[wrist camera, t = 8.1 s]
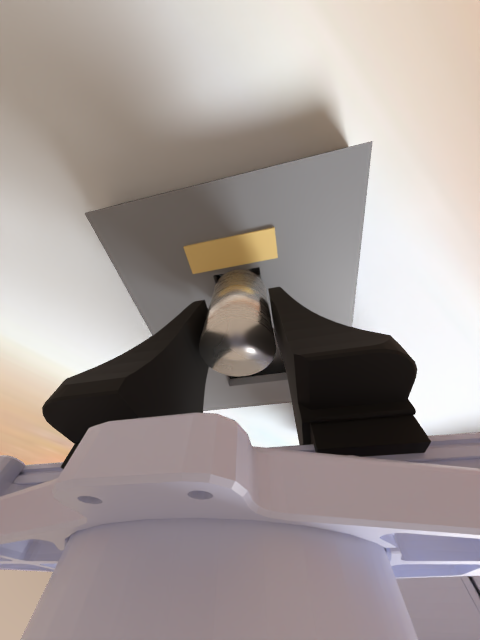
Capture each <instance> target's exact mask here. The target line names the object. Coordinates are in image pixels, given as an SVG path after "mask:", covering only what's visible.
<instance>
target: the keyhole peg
mask: <svg viewBox="0 0 480 640" xmlns="http://www.w3.org/2000/svg"><path fill="white" fill-rule="evenodd" d="M216 277H217V283H216V285H215V288H214V292H213V295H212V299H211V302H210V306H209V310H208V313H207V317H206V320H205V324H204V328H203V331H202V335H201V338H200V342H199V352H200V355H201V357H202V359H203V360H204V362H205V363H206V364H207V365H208V366H209V367H210V368H212V369H213V370H215V371H217V372H219V373H221V374H225V375H229V376H248V375H252V374H255V373H258V372H260V371H262V370H263V369H265V368H266V367H267V366H268V365H269V364H270V363H271V362H272V360H273V358H274V356H275V353H276V345H275V339H274V333H273V327H272V321H271V315H270V309H269V303H268V297H267V291H266V287H265V284H264V282H263V281H262V279H261V275H260V269H259V267H257V268H251V269H246V270H243V269H237V270H232V271H229V272H227V273H225V274H219V275H216Z"/></svg>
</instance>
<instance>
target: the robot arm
mask: <svg viewBox="0 0 480 640" xmlns="http://www.w3.org/2000/svg"><path fill="white" fill-rule="evenodd" d="M268 290H269V297H270V304H271V311H272V318H273V324H274V330H275V336H276V339H277V342H278V346H279V349H280V353H281V356H282V359H283V363H284V366H285V370H286V374H287V379H288V384H289V389H290V395H291V400H292V405H293V411H294V416H295V422H296V427H297V433H298V438H299V444H300V445H297V446H283V447H270V448H264V447H253V446H252V445H251V442H250V440H249V437H248V434H247V433H246V432H245V431H244V430H243V429H242V427H241V426H240V425H239V424H238V423H237V422H236V421H235V420H232V419H229V418H227V417H224V416H222V415H219V414H213V413H203V405H204V394H205V384H206V378H207V374H208V369H209V366H208V365H207V364H206V363H205V362H204V360H203V359H202V357H201V355H200V352H199V342H200V338H201V335H202V331H203V328H204V324H205V320H206V317H207V313H208V308H207V305H206V302H205V300H200V301H194V302H193V303H191V304H190V305H189V306H188V307H186V308H185V309H184V310H183V311H182V312H181V313H180V314H179V315H177V316H176V317H175V318H174V319H173V320H172V321H171V322H169V323H168V324H167V325H166V326H164V327H163V328H162V329H161V330H160V331H158V332H157V333H156V334H154V335H153V336H151V337H150V338H148V339H147V340H145V341H144V342H142V343H141V344H139V345H138V346H136V347H134V348H132V349H131V350H129V351H127V352H125V353H124V354H122V355H120V356H118V357H116V358H114V359H112V360H110V361H108V362H106V363H104V364H101V365H99V366H97V367H95V368H92V369H90V370H87V371H85V372H82V373H80V374H77V375H75V376H72V377H70V378H67V379H66V380H65V381H64V382H63V383H62V384H61V385H60V386H59V387H58V389H57V390H56V391H55V392H54V393H53V394H52V395H51V397H50V398H49V399H48V400H47V401H46V402H45V404H44V406H43V407H42V410H43V416H44V417H45V419H46V421H47V422H48V423H49V424H50V425H51V426H52V427H54V428H55V429H56V430H58V431H59V432H60V433H61V434H63V435H64V436H65V437H67V438H68V439H69V440H70V441H72V442H73V443H74V444H75V445H74V446H73V448H72V449H71V451H70V453H69V454H68V456H67V457H66V459H65V461H64V462H62V463H48V464H34V465H25V464H24V463H23V462H22V461H20V460H18V459H17V458H14V457H11V456H6V455H1V456H0V569H3V570H26V571H47V572H53V573H52V576H51V578H50V580H49V582H48V584H47V586H46V588H45V590H44V592H43V594H42V596H41V598H40V600H39V602H38V605H37V607H36V609H35V611H34V613H33V615H32V617H31V619H30V621H29V623H28V625H27V627H26V629H25V631H24V633H23V635H22V638H21V640H480V432H477V433H463V434H449V435H435V436H427V435H426V433H425V432H424V430H423V429H422V427H421V426H420V424H419V423H418V422H417V420H416V419H415V417H414V416H413V415H415V412H416V411H415V408H414V407H413V405H412V404H411V403H410V401H409V400H408V397H409V394H410V392H411V389H412V386H413V384H414V381H415V378H416V374H417V367H416V364H415V361H414V360H413V359H412V358H411V357H410V356H409V355H408V354H407V352H406V351H405V350H404V349H403V348H402V347H401V345H400V344H399V343H398V342H396V341H395V340H394V339H393V338H392V337H391V336H390V335H386V334H381V333H375V332H370V331H365V330H361V329H357V328H353V327H350V326H346V325H343V324H340V323H337V322H334V321H332V320H329V319H327V318H324V317H322V316H320V315H318V314H316V313H314V312H312V311H310V310H309V309H307V308H306V307H304V306H302V305H301V304H300V303H298V302H297V301H296V300H295V299H293V298H292V297H291V296H290V295H289V294H288V293H286V292H285V291H284V290H283V289H282V288H281V287H275V288H269V289H268Z"/></svg>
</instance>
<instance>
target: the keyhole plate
mask: <svg viewBox="0 0 480 640" xmlns="http://www.w3.org/2000/svg"><path fill="white" fill-rule="evenodd" d="M371 150H372V141H371V142H367V143H363V144H359V145H355V146H351V147H347V148H343V149H339V150H335V151H331V152H327V153H323V154H319V155H315V156H311V157H307V158H303V159H299V160H295V161H291V162H287V163H283V164H279V165H275V166H271V167H267V168H263V169H259V170H255V171H251V172H247V173H243V174H239V175H235V176H231V177H227V178H223V179H219V180H215V181H211V182H207V183H203V184H199V185H195V186H191V187H187V188H183V189H179V190H175V191H171V192H167V193H163V194H159V195H155V196H151V197H147V198H143V199H139V200H135V201H131V202H127V203H123V204H119V205H115V206H111V207H107V208H103V209H99V210H95V211H91V212H87V213H85V215H86V217H87V218H88V220H89V222H90V224H91V226H92V227H93V229H94V231H95V233H96V234H97V236H98V238H99V240H100V242H101V243H102V245H103V247H104V249H105V251H106V252H107V254H108V256H109V258H110V260H111V261H112V263H113V265H114V267H115V269H116V270H117V272H118V274H119V276H120V278H121V279H122V281H123V283H124V285H125V286H126V288H127V290H128V292H129V294H130V295H131V297H132V299H133V301H134V303H135V304H136V306H137V308H138V310H139V312H140V313H141V315H142V317H143V319H144V321H145V322H146V324H147V326H148V328H149V330H150V331H151V333H152V335H154V334H156V333H157V332H158V331H160V330H161V329H162V328H163V327H164V326H166V325H167V324H168V323H169V322H171V321H172V320H173V319H174V318H175V317H176V316H177V315H179V314H180V313H181V312H182V311H183V310H184V309H185V308H186V307H188V306H189V305H190V304H191V303H193V302H194V301H200V300H205V302H206V305H207V308H208V310H209V306H210V302H211V299H212V295H213V292H214V288H215V285H216V283H217V277H216V275H219V274H225V273H227V272H229V271H232V270H237V269H243V270H246V269H251V268H257V267H259V269H260V275H261V279H262V281H263V282H264V284H265V287H266V291H267V297H268V303H269V309H270V315H271V321H272V327H273V328H274V324H273V318H272V311H271V304H270V297H269V290H268V289H269V288H275V287H281V288H282V289H283V290H284V291H285V292H286V293H288V294H289V295H290V296H291V297H292V298H293V299H295V300H296V301H297V302H298V303H300V304H301V305H302V306H304V307H306V308H307V309H309V310H310V311H312V312H314V313H316V314H318V315H320V316H322V317H324V318H327V319H329V320H332V321H334V322H337V323H340V324H343V325H346V326H350V327H352V321H353V312H354V303H355V294H356V285H357V276H358V267H359V258H360V249H361V240H362V231H363V222H364V213H365V204H366V195H367V186H368V177H369V168H370V159H371ZM289 402H292V400H291V395H290V389H289V384H288V379H287V374H286V372H285V373H277V374H268V375H260V376H252V377H243V378H235V379H230V378H229V375H225V374H221V373H219V372H217V371H215V370H213V369H212V368H210V367H209V369H208V374H207V378H206V384H205V394H204V405H203V411H208V410H218V409H228V408H238V407H248V406H259V405H269V404H279V403H289Z"/></svg>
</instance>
